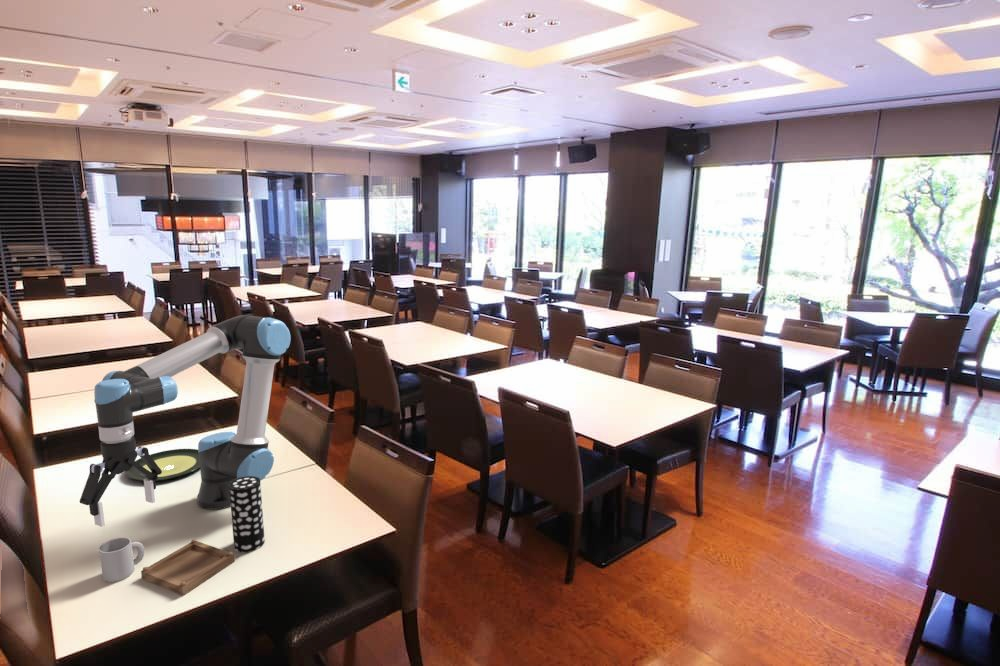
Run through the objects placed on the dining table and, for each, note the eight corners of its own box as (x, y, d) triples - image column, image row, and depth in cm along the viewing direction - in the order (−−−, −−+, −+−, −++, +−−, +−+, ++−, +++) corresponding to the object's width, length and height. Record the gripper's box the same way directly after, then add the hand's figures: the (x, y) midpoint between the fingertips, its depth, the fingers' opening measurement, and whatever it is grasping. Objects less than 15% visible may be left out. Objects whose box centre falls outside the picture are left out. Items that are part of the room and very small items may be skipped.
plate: (188, 448, 232) (187, 442, 232) (223, 466, 217) (223, 460, 216) (112, 472, 210) (111, 465, 210) (145, 493, 194) (144, 487, 194)
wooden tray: (142, 578, 149) (140, 569, 148) (195, 547, 163) (194, 538, 163) (183, 595, 143) (182, 585, 142) (234, 561, 157) (233, 552, 156)
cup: (100, 574, 151) (95, 544, 149) (142, 558, 158) (139, 530, 156) (106, 586, 146) (101, 556, 144) (149, 570, 153) (146, 541, 151)
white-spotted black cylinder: (245, 555, 160) (240, 492, 156) (228, 546, 164) (222, 484, 160) (270, 542, 167) (266, 480, 163) (253, 533, 171) (248, 473, 167)
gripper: (75, 459, 132) (85, 539, 136) (171, 425, 155) (178, 495, 159) (55, 453, 135) (66, 532, 139) (153, 421, 157) (160, 490, 161)
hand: (126, 512), depth 149 cm, fingers open, 13 cm apart
